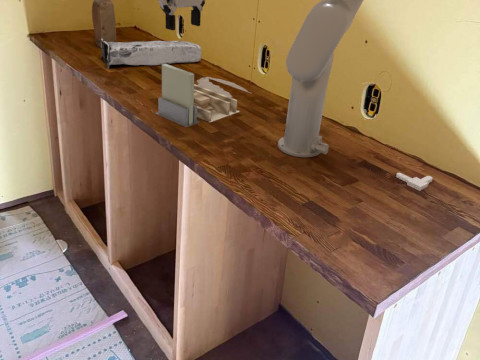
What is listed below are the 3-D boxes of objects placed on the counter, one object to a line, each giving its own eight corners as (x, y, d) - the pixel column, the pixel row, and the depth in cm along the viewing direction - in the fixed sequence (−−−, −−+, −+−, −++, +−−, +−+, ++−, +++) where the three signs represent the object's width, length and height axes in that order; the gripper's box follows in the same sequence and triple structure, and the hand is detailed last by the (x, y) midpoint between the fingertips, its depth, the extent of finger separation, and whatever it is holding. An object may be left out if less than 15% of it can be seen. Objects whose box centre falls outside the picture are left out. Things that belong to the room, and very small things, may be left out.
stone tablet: (226, 112, 158) (226, 105, 157) (187, 83, 180) (187, 77, 179) (267, 106, 166) (268, 99, 165) (225, 79, 188) (225, 73, 186)
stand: (200, 126, 145) (201, 106, 142) (186, 131, 141) (186, 111, 138) (169, 112, 153) (169, 93, 149) (154, 117, 148) (154, 97, 145)
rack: (239, 115, 155) (240, 99, 152) (209, 126, 145) (210, 109, 143) (196, 98, 166) (196, 83, 163) (165, 107, 156) (165, 91, 153)
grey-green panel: (192, 122, 143) (194, 73, 136) (189, 124, 142) (190, 74, 135) (165, 111, 150) (165, 63, 142) (162, 112, 149) (161, 64, 141)
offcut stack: (212, 112, 152) (213, 98, 149) (201, 116, 148) (202, 102, 146) (190, 103, 157) (190, 90, 155) (179, 106, 154) (179, 93, 151)
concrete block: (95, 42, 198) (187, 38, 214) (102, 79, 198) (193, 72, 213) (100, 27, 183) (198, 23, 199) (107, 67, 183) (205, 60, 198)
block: (118, 48, 214) (115, 1, 204) (102, 50, 210) (98, 2, 200) (107, 42, 221) (105, -4, 211) (92, 44, 217) (88, -3, 207)
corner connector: (409, 171, 130) (410, 166, 130) (435, 183, 125) (437, 178, 124) (392, 179, 126) (393, 173, 125) (419, 192, 121) (420, 186, 120)
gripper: (169, -38, 117) (169, 34, 125) (216, -39, 129) (214, 26, 137) (148, -41, 121) (150, 28, 129) (196, -42, 133) (195, 21, 141)
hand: (183, 27), depth 133 cm, fingers open, 9 cm apart
